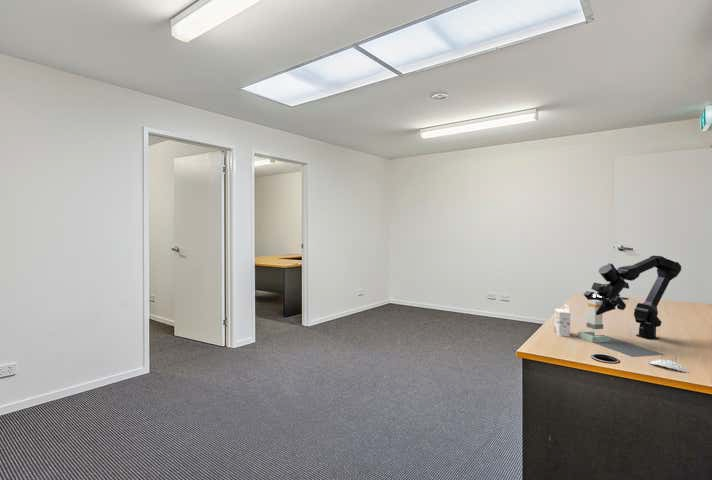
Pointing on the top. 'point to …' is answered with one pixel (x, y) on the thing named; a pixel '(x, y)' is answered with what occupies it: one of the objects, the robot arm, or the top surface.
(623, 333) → the top surface
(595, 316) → the white rectangular container
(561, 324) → the ink cartridge box
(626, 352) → the mat
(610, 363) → the top surface
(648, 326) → the robot arm
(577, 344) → the top surface
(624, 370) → the top surface
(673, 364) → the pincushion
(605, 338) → the holder
